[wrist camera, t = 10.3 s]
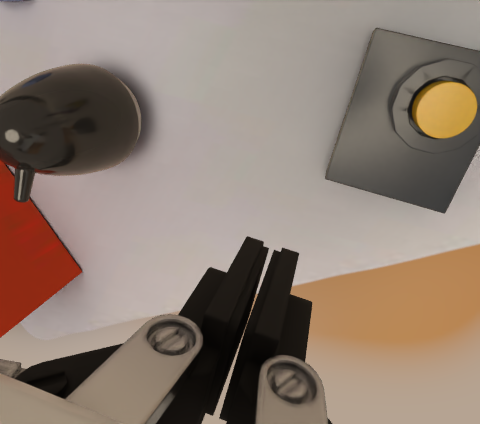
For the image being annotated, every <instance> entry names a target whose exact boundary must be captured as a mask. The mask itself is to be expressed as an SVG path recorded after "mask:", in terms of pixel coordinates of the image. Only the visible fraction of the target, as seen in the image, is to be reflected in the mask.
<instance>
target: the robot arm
mask: <svg viewBox="0 0 480 424" xmlns="http://www.w3.org/2000/svg"><path fill="white" fill-rule="evenodd" d="M263 243H264V242H263V241H260V240H257V239H254V238H251V237H248V236H247V237H246V239H245V241H244V243H243V244H242V246H241V248H240V250H239V252H238V254H237V255H236V257H235V259H234V261H233V263H232V264H231V266H230V268H229V270H228V272H227V273H226V272H223V271H220V270H217V269H214V268H211V267H210V268H209V269H208V270H207V271H206V273H205V274H204V276H203V277H202V279H201V280H200V282H199V284H198V285H197V287H196V288H195V290H194V291H193V293H192V294H191V296H190V297H189V299H188V300H187V302H186V304H185V305H184V307H183V308H182V310H181V311H180V313H179V315H172V314H168V315H160V316H157V317H154V318H152V319H151V320H149V321H148V322H146V323H145V324H144V325H143V326H142V327H141V328H140V329H139V330H138V331H137V332H135V334H133V335H132V336H131V337H130V338H129V339H128V340H127V341H126V342H125V343H123V344H119V345H115V346H110V347H106V348H102V349H98V350H93V351H89V352H85V353H80V354H76V355H72V356H68V357H63V358H59V359H55V360H51V361H46V362H42V363H39V364H37V365H34V366H31V367H29V368H28V369H23V368H21V363H20V362H14V361H7V360H2V359H0V424H201V423H202V421H203V418H204V415H205V413H207V414H210V415H213V414H214V412H215V409H216V406H217V403H218V401H219V398H220V395H221V392H222V390H223V387H224V384H225V382H226V379H227V376H228V373H229V371H230V368H231V365H232V362H233V360H234V357H235V354H236V352H237V349H238V346H239V343H240V340H241V338H242V335H243V333H244V336H243V339H242V342H241V346H240V349H239V352H238V356H237V359H236V363H235V366H234V369H233V373H232V376H231V380H230V383H229V387H228V390H227V393H226V397H225V400H224V404H223V408H222V410H221V414H220V417H219V418H220V419H222V420H225V421H227V423H226V424H332V423H331V421H330V420H329V419H328V418H327V410H326V401H325V393H324V387H323V384H322V380H321V379H320V377H319V376H318V374H317V372H316V371H315V370H314V369H313V368H312V367H311V366H310V365H308V364H307V363H305V358H306V350H307V342H308V334H309V326H310V318H311V310H312V302H311V301H308V300H305V299H302V298H300V297H297V296H294V295H291V294H290V291H291V287H292V283H293V278H294V274H295V269H296V265H297V261H298V256H299V253H297V252H294V251H291V250H288V249H285V248H282V250H281V252H279V251H276V250H274V252H273V255H272V257H271V260H270V263H269V265H268V268H267V271H266V274H265V276H264V279H263V282H262V285H261V287H260V290H259V293H258V296H257V299H256V301H255V304H254V307H253V310H252V312H251V315H250V311H251V308H252V305H253V301H254V298H255V294H256V291H257V288H258V284H259V281H260V277H261V274H262V271H263V267H264V264H265V260H266V257H267V253H268V250H269V248H267V247H264V246H263ZM249 315H250V318H249ZM248 318H249V320H248ZM247 321H248V323H247ZM246 324H247V326H246ZM245 327H246V329H245ZM244 330H245V332H244Z"/></svg>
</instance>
